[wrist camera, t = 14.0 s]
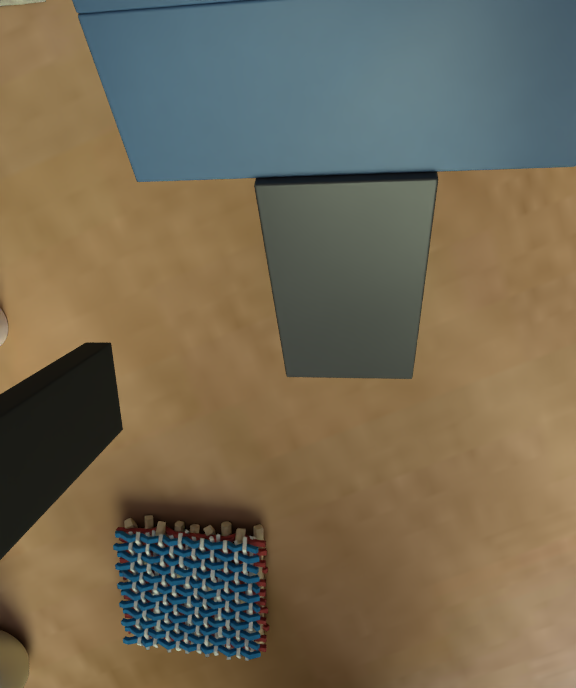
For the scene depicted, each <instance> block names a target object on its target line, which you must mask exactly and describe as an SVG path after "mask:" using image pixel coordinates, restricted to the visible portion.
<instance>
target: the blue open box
mask: <svg viewBox="0 0 576 688" xmlns="http://www.w3.org/2000/svg"><path fill="white" fill-rule="evenodd" d="M72 1H73V4H74V7H75V9H76V12H77V13H79V14H78V18H79V21H80V24H81V26H82V29H83V32H84V35H85V38H86V40H87V43H88V46H89V49H90V52H91V54H92V57H93V60H94V63H95V66H96V68H97V71H98V74H99V77H100V80H101V82H102V85H103V88H104V91H105V93H106V96H107V99H108V102H109V105H110V107H111V110H112V113H113V116H114V119H115V121H116V124H117V127H118V130H119V133H120V135H121V138H122V141H123V144H124V146H125V149H126V152H127V155H128V158H129V160H130V163H131V166H132V169H133V172H134V174H135V177H136V180H137V182H150V181H178V180H207V179H236V178H256V180H255V185H254V187H255V193H256V199H257V204H258V210H259V216H260V222H261V228H262V234H263V240H264V246H265V252H266V258H267V264H268V270H269V275H270V281H271V287H272V293H273V299H274V305H275V311H276V317H277V323H278V329H279V335H280V340H281V346H282V352H283V358H284V364H285V370H286V376H287V377H326V378H389V379H412V377H413V369H414V362H415V354H416V346H417V339H418V331H419V323H420V316H421V308H422V300H423V293H424V285H425V277H426V270H427V262H428V254H429V247H430V239H431V231H432V223H433V216H434V208H435V200H436V193H437V185H438V175H437V171H464V170H493V169H522V168H550V167H574V166H576V0H72Z"/></svg>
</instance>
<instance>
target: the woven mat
mask: <svg viewBox="0 0 576 688" xmlns="http://www.w3.org/2000/svg"><path fill="white" fill-rule="evenodd" d="M124 524H125V528H124V527H118V528H117V529H116V532H115V536H116V537H117V538H119V540H120V541H122V542H124V543H123V544H118V543H115V544H114V545H113V548H114V550H116V551H118V552H117V556H118V557H120V563H117V564H116V565H115V567H116V569H117V570H120V571H119V575H120V576H121V577H123V579H124V580H126V579H128V581H129V582H125V583H123V582H119V583H118V584H117V586H118V589H122V590H121V595H124V599H129V600H130V601H123V600H122V601H121V602H120V603H119V605H120V607H122V608H123V613H125V618H131V619H125V618H123V620H122V621H121V624H122V625H123V626H125V631H128V633H129V634H130V633H132V634H134V637H125V638H124V639H123V643H125V644H128V645H129V644H134V643H137V645H141V646H143V645H144V646H145V647H146V650H149V649H150V646H152V645H153V646H155V647H157V648H158V646H157V644H160V645H162V646H163V647H165V648H166V649H168V652H171V649H172V648H175V647H176V648H175V649H176V650H177V651H180V650H181V649H180V648H182V649H184V650H185V653H186V654H188V653H189V652H191V651H194V650H197V651H196V652H198V653H200V654H201V653H202V652H203V653H204V654H205V657H209V654H210V653H212V652H214V655H215V656H216V655H219V654H218V652H217V651H219V652H221V653H223V654H224V655H226V656H227V659H228V660H231V656H233V655H236V657H238V658H241V655H242V656H244V657H245V660H247V661H248V660H249V659H254V658H257V657H261V653H260V651H262V652H266V645H265V644H264V642H266V635H264V630H265V631H266V632H267V631H268V630H269V625H268V624H267V623H266V618H265V617H264V613H268V608H267V607H264V606H265V605H266V599H264V597H265V596H266V589H264V587H266V580H264V574H266V573H267V572H268V568H267V567H266V560H263V556H264V555H267V550H266V548H264V549H263V547H265V546H266V541H264V540H263V527H262V526H261V524H259V525H256V526H254V537H252V536H250V537H249V536H248V535H246V529H240V528H238V529H236V533H235V534H232V528H231V523H230V522H228V521H227V522H223V523H222V524H221V532H222V536H220V534H217V535H215V529H214V528H213V527H212V526H211V525H209V526H207V527H206V528H204V532H205V534H199V527H200V526H199V525H198V524H193V525H191V526H190V532H189V531H188V530H186V531H185V525H184V522H182V521H177V522H176V523H175V531H174V530H172V529H171V528H169V527H168V526H166V522H161V521H159V522H158V524H157V527H155V528H154V525H153V515H148V516H145V528H138V526H137V524H136V523H135V521H134V520H133V519H132V518H129V519H127V520H125V521H124ZM169 537H170V538H169ZM174 538H175V539H174ZM232 542H234V544H233V543H232ZM185 547H186V549H185ZM201 551H202V552H201ZM248 555H250V557H249V556H248ZM171 558H172V559H171ZM232 561H233V562H234V563H235V564H236V565H235V564H233V563H232ZM160 565H161V566H162V567H161V566H160ZM248 573H249V576H248ZM172 577H173V578H172ZM146 583H148V584H146ZM159 592H160V594H159ZM173 596H174V597H173ZM233 600H235V602H236V603H234V602H233ZM208 608H209V609H208ZM204 609H205V610H204ZM253 613H254V614H253ZM175 615H176V616H175ZM147 617H148V618H147ZM234 618H235V619H236V621H234ZM162 620H164V621H162ZM163 630H165V631H163ZM249 632H250V633H249ZM176 633H177V634H176ZM195 633H196V636H195ZM150 637H152V639H151V638H150ZM236 639H237V640H236ZM254 641H256V642H254ZM190 643H191V645H190ZM142 644H143V645H142ZM225 646H227V648H228V649H227V648H226V647H225ZM232 648H233V649H232ZM200 649H201V650H200ZM250 650H251V652H250ZM240 654H241V655H240Z"/></svg>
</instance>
